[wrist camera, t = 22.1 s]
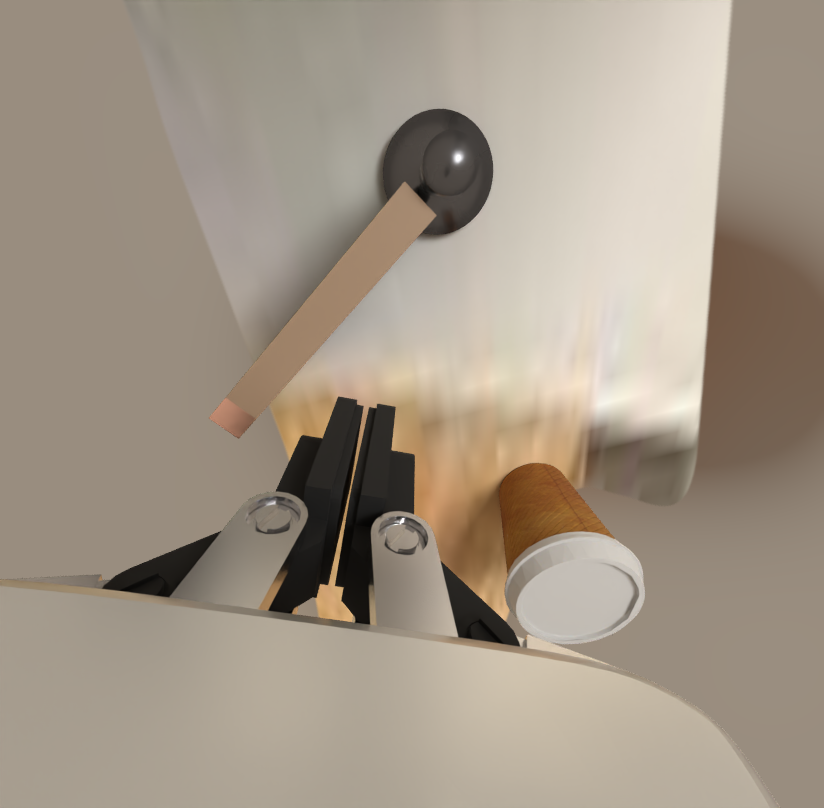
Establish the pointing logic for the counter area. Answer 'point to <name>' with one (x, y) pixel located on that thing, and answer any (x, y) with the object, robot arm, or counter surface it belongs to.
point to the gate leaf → (326, 308)
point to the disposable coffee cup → (563, 561)
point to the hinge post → (441, 166)
